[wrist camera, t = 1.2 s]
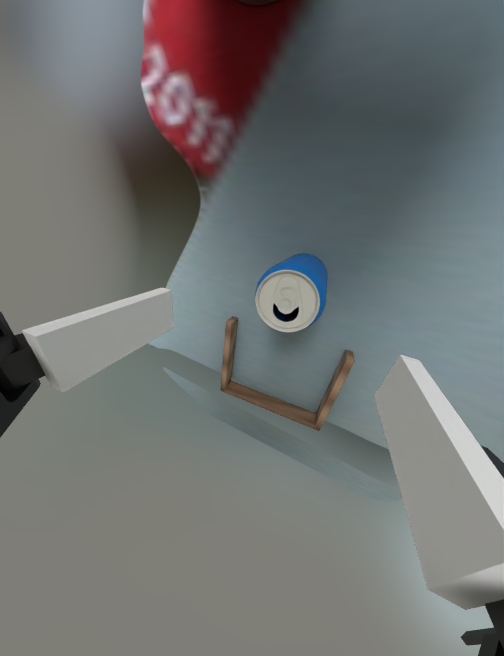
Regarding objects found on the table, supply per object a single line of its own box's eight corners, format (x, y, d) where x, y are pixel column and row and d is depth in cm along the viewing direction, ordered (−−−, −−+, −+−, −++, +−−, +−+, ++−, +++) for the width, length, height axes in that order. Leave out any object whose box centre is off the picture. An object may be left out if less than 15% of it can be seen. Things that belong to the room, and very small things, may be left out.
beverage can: (278, 297, 29) (250, 330, 19) (282, 252, 26) (251, 261, 16) (322, 302, 27) (317, 342, 17) (331, 254, 24) (333, 267, 14)
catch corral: (232, 316, 33) (226, 321, 31) (352, 351, 28) (354, 361, 26) (226, 382, 41) (220, 390, 39) (319, 419, 36) (319, 430, 34)
